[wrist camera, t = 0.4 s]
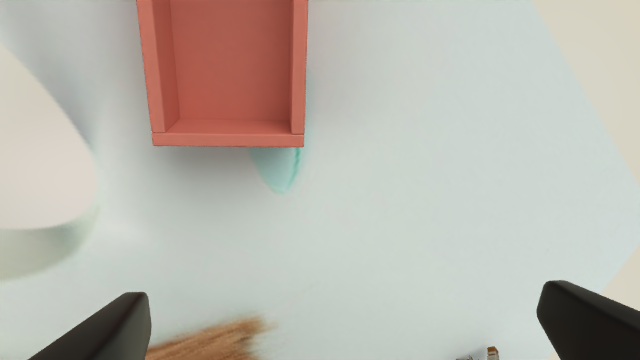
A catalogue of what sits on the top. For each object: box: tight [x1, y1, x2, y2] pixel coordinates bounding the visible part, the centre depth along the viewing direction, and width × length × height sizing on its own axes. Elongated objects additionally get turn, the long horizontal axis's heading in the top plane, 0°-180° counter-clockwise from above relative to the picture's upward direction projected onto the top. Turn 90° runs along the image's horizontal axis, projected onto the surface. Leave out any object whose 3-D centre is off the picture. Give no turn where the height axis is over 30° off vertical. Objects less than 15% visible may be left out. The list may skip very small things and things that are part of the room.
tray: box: [136, 0, 308, 147], centre depth 17 cm, size 11×7×4 cm, turn 178°
